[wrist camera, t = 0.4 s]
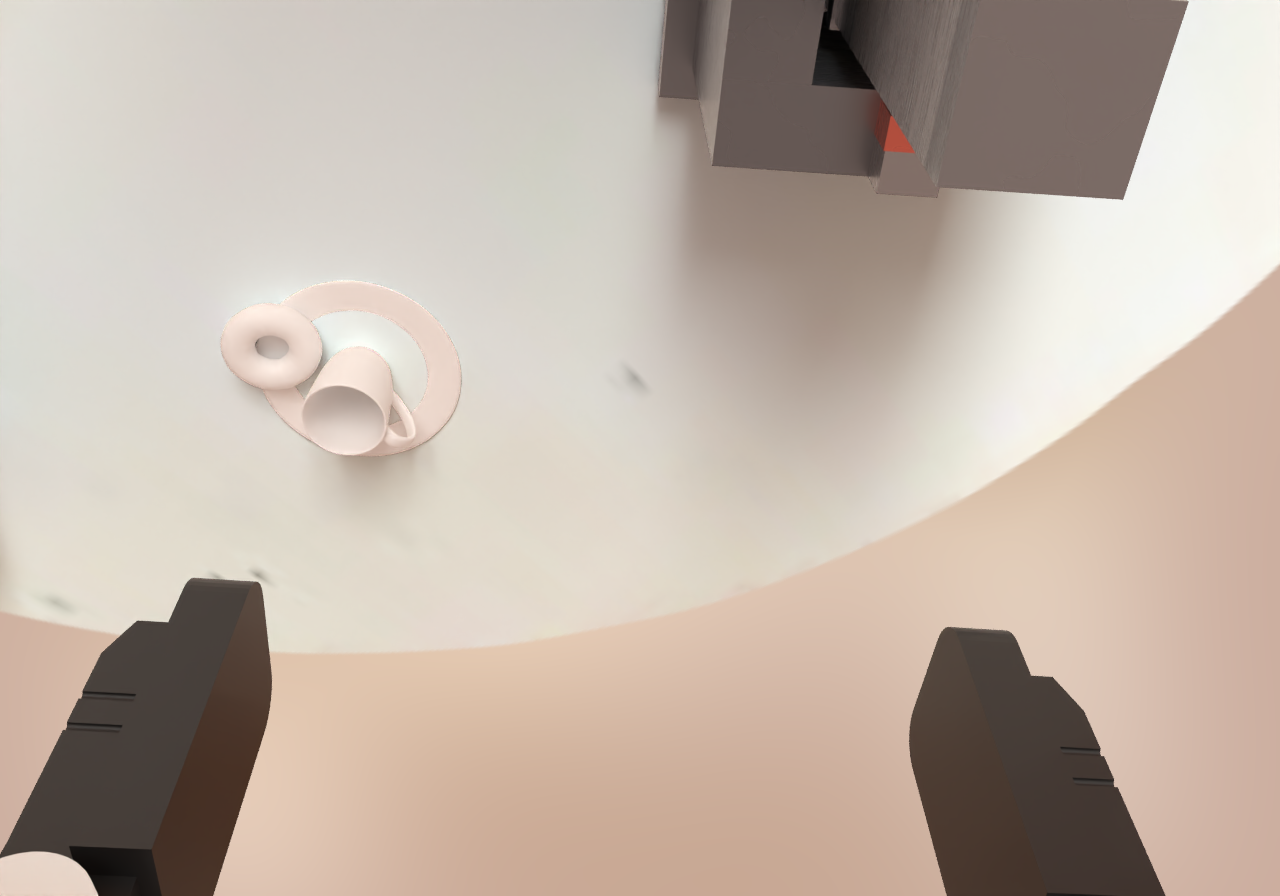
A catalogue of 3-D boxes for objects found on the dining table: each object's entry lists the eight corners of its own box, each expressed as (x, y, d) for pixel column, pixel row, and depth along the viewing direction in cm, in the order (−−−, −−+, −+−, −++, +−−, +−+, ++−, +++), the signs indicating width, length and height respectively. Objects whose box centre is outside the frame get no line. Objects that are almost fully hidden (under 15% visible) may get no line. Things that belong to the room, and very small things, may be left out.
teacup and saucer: (200, 329, 45) (166, 383, 41) (355, 219, 42) (332, 268, 39) (354, 479, 49) (335, 540, 46) (502, 387, 47) (494, 444, 43)
